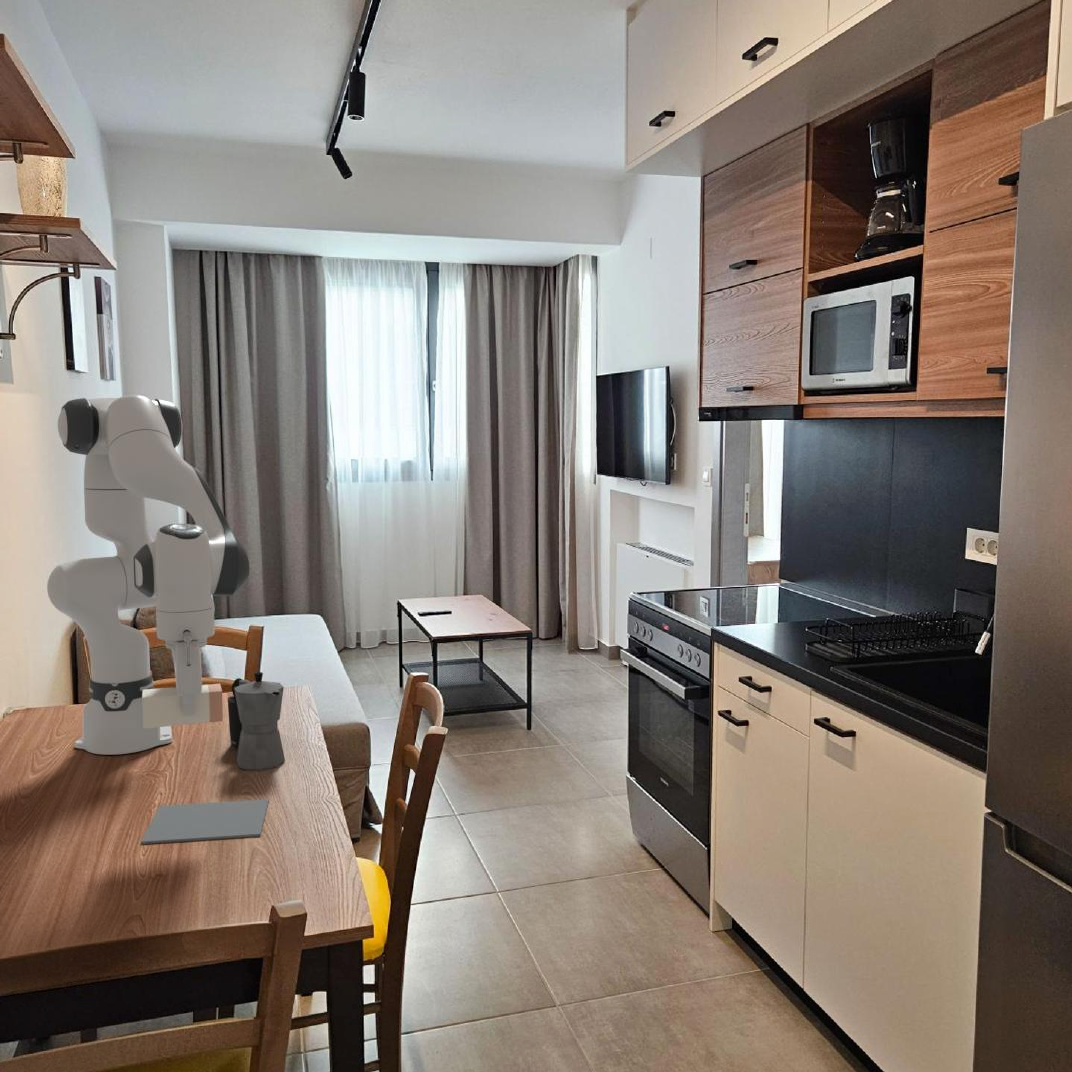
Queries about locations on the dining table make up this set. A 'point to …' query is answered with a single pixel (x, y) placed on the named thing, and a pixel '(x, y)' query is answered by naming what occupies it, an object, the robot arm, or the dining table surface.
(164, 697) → the pillar
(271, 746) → the coffeepot
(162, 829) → the mat
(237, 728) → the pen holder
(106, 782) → the dining table surface
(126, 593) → the robot arm
